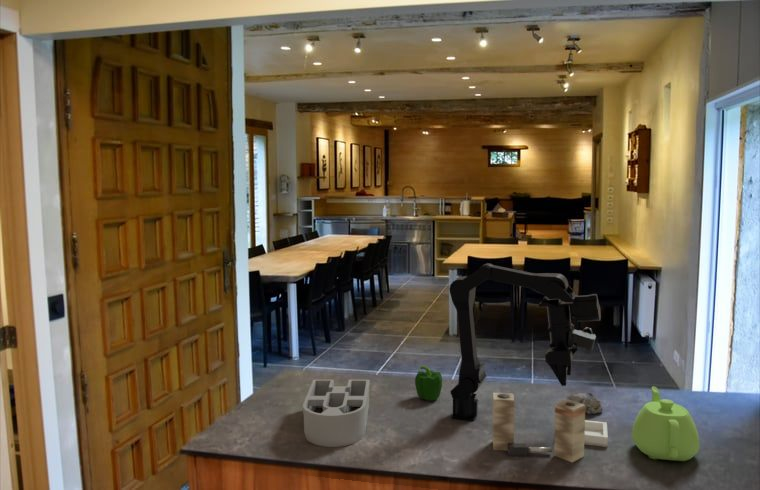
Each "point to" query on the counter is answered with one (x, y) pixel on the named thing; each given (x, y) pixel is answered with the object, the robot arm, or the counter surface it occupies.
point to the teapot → (665, 430)
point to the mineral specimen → (587, 402)
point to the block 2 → (569, 430)
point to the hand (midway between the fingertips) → (566, 380)
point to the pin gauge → (525, 449)
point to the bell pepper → (428, 384)
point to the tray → (596, 433)
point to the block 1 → (503, 420)
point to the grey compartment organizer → (336, 412)
